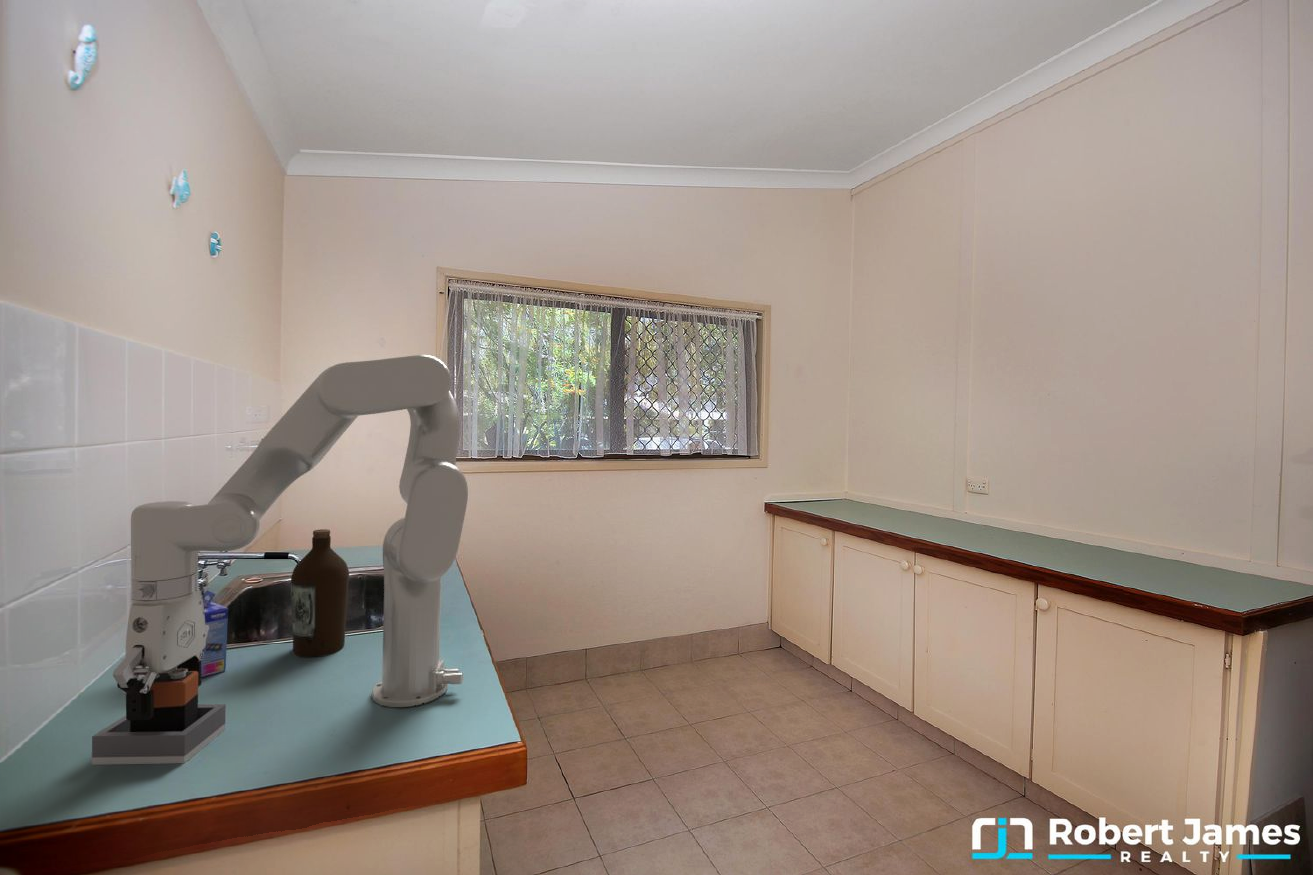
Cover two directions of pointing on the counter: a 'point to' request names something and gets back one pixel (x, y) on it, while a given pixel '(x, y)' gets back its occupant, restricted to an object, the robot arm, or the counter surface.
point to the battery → (171, 702)
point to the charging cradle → (157, 740)
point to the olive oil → (319, 599)
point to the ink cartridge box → (214, 637)
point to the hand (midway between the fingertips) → (166, 701)
